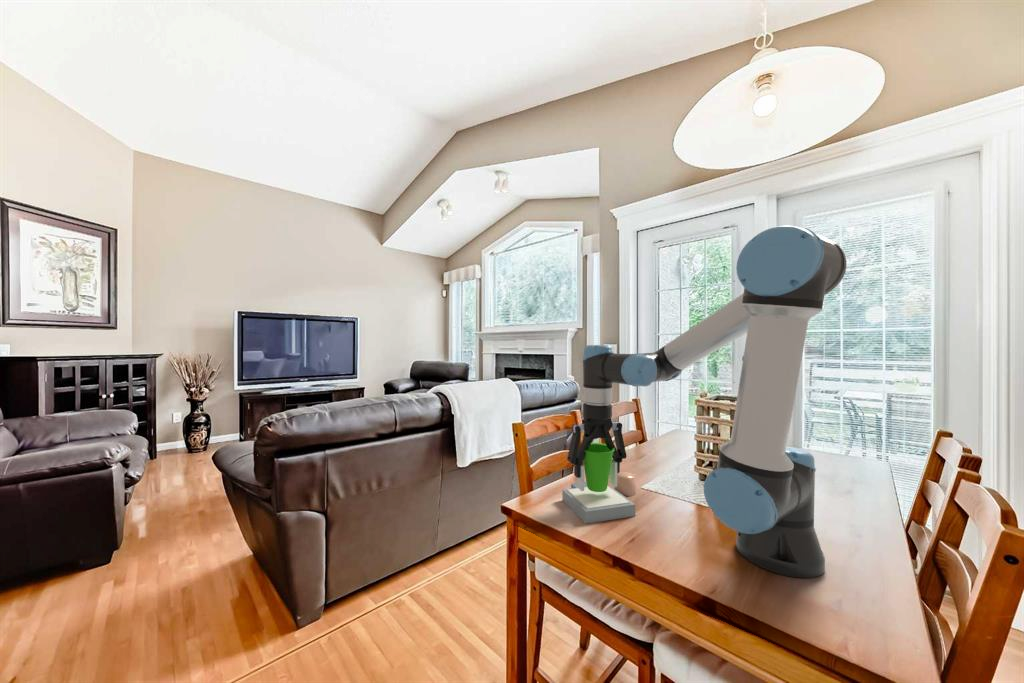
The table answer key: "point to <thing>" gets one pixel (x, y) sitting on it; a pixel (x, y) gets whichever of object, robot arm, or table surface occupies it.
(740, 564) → the table surface
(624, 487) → the beige rounded block
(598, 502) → the podium
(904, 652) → the table surface
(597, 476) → the cup
